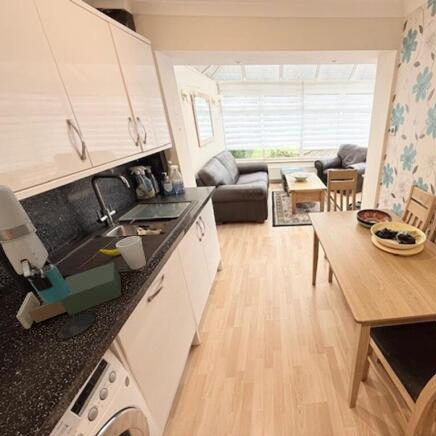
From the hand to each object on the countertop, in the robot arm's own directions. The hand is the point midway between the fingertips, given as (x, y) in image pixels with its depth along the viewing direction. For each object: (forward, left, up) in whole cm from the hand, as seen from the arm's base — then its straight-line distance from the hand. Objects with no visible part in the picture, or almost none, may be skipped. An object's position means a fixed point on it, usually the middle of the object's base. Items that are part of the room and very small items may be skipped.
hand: (48, 282), depth 72 cm
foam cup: (+20, +27, -19) cm, 39 cm away
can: (0, 0, -6) cm, 6 cm away
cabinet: (+5, +15, -19) cm, 25 cm away
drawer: (-7, +15, -18) cm, 25 cm away
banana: (+15, +45, -19) cm, 51 cm away
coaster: (0, 0, -19) cm, 19 cm away
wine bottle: (-17, +36, -19) cm, 44 cm away
